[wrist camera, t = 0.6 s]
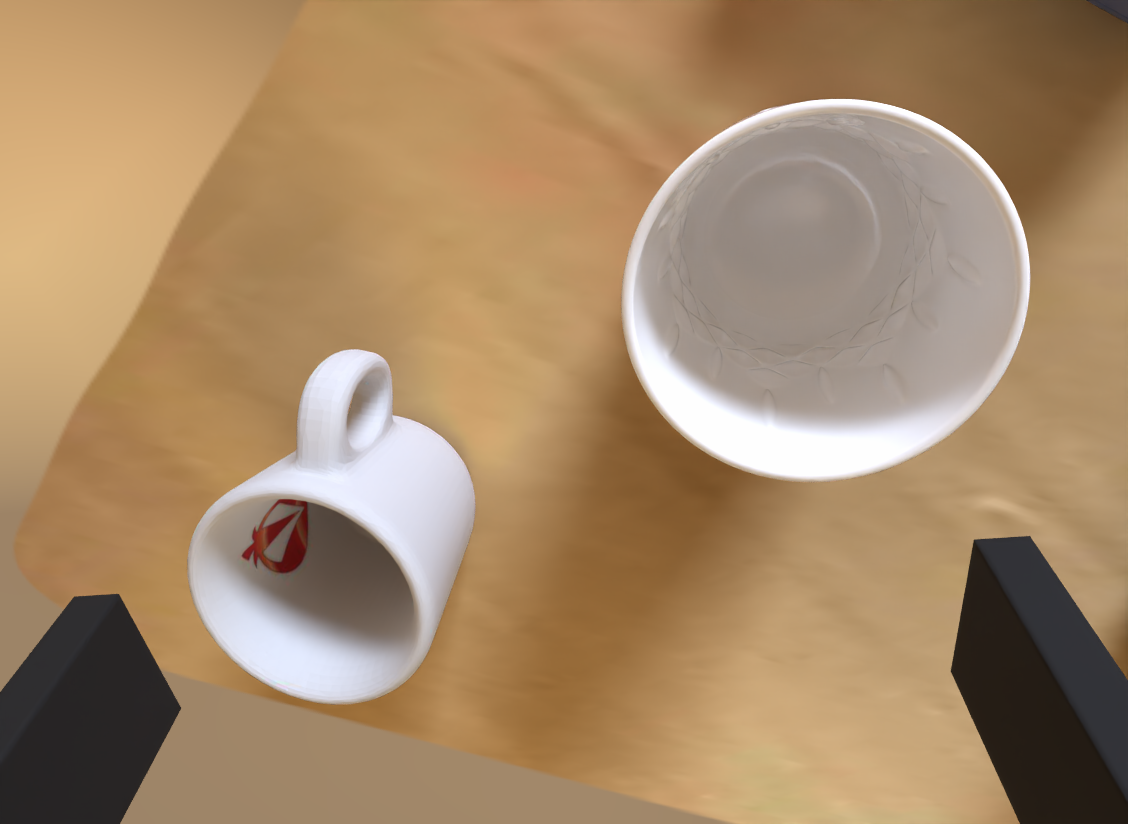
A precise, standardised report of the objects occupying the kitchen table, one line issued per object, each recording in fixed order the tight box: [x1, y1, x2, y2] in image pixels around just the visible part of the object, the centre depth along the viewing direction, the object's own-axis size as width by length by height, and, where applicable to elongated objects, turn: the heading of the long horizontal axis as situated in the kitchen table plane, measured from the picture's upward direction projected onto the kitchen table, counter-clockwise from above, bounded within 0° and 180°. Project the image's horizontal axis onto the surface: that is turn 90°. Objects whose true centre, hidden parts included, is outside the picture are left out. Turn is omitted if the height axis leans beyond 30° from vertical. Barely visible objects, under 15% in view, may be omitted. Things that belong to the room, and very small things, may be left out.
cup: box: [187, 350, 475, 705], centre depth 28 cm, size 11×8×8 cm
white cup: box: [621, 99, 1030, 482], centre depth 21 cm, size 8×8×10 cm
